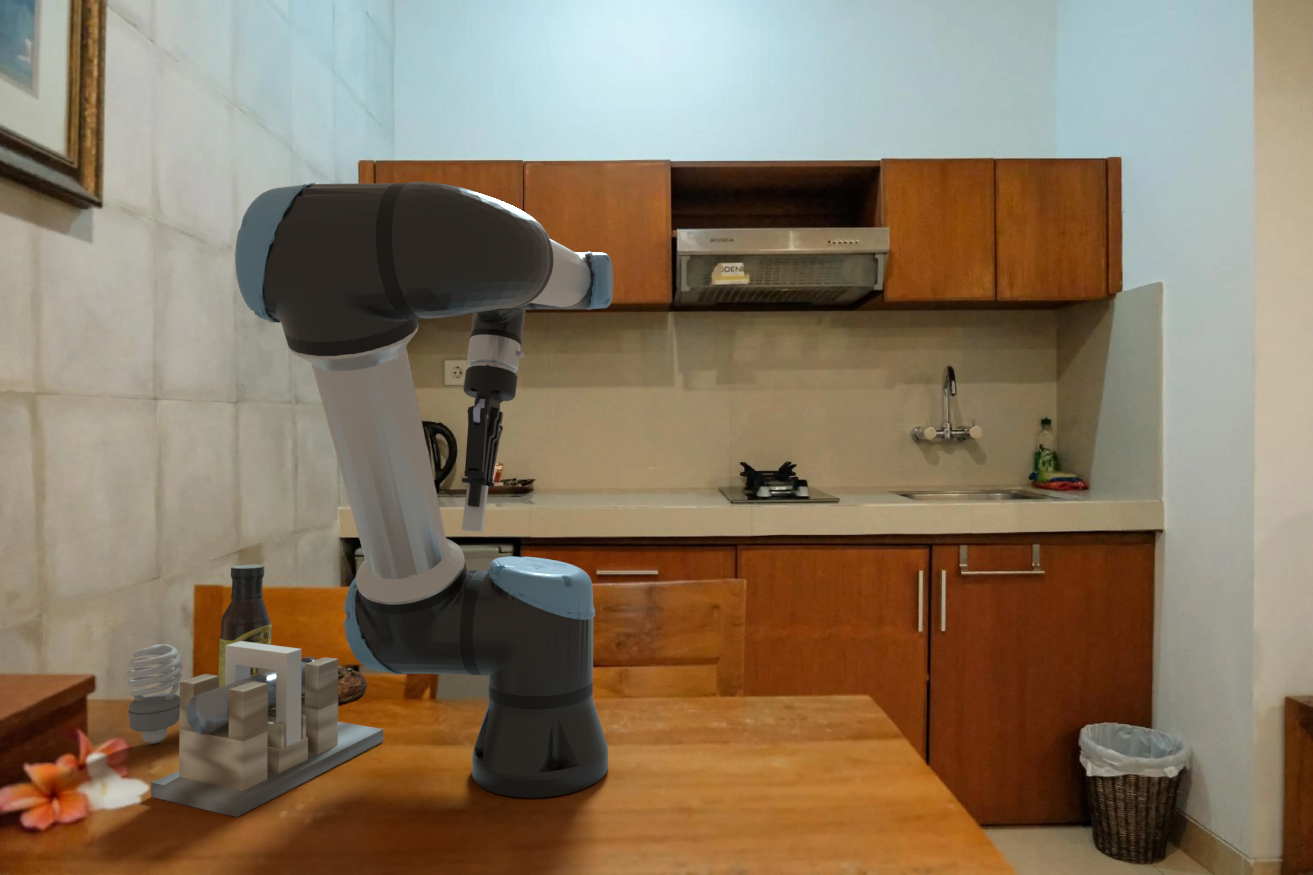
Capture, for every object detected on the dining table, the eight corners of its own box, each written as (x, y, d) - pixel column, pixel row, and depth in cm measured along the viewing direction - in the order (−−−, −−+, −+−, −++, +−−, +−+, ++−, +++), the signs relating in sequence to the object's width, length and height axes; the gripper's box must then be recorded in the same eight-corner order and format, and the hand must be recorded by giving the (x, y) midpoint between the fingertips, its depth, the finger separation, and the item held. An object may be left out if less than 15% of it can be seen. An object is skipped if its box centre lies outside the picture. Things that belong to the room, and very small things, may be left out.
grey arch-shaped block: (300, 739, 87) (301, 648, 87) (286, 746, 85) (287, 653, 85) (240, 728, 90) (240, 640, 90) (224, 734, 88) (225, 645, 88)
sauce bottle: (247, 723, 103) (248, 571, 103) (206, 720, 104) (207, 569, 104) (281, 707, 109) (282, 563, 109) (241, 703, 111) (242, 561, 111)
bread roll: (383, 686, 119) (379, 654, 118) (337, 721, 108) (332, 686, 108) (319, 683, 122) (315, 652, 121) (267, 717, 111) (263, 683, 110)
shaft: (296, 691, 95) (296, 654, 95) (324, 695, 93) (324, 658, 93) (185, 733, 81) (185, 690, 81) (216, 739, 80) (216, 695, 80)
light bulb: (186, 733, 99) (187, 637, 99) (175, 749, 94) (176, 649, 94) (134, 738, 98) (135, 641, 98) (120, 755, 92) (120, 652, 92)
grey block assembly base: (383, 741, 97) (383, 647, 97) (236, 817, 78) (237, 699, 78) (307, 728, 101) (308, 638, 101) (150, 796, 82) (151, 685, 82)
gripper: (509, 359, 110) (489, 529, 106) (524, 383, 123) (507, 536, 118) (456, 355, 110) (433, 524, 106) (476, 380, 123) (457, 531, 119)
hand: (472, 530), depth 112 cm, fingers closed
